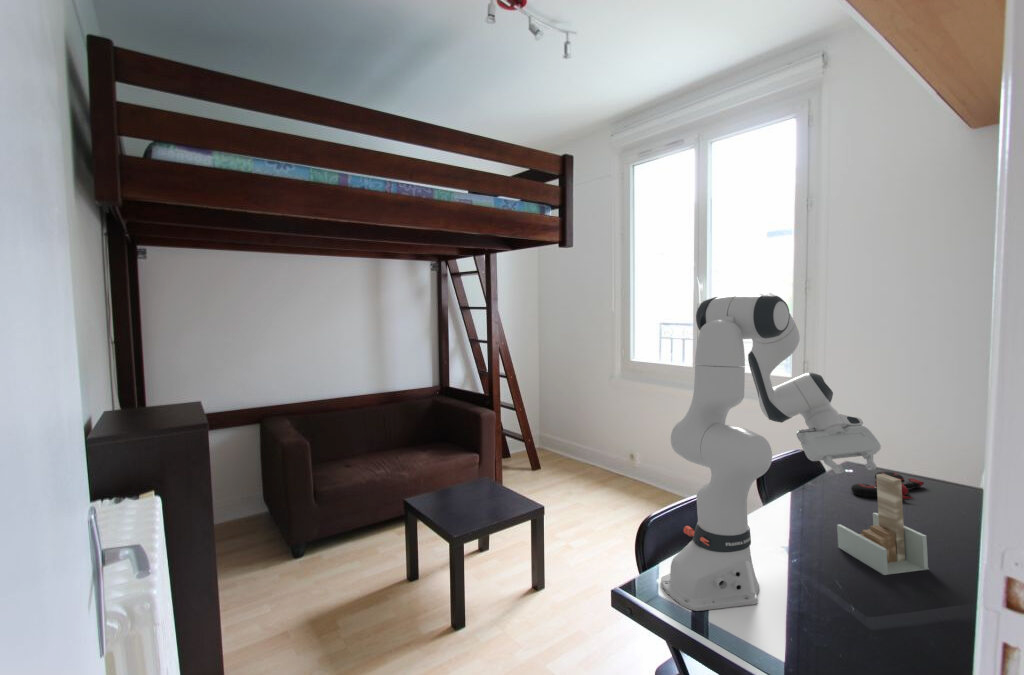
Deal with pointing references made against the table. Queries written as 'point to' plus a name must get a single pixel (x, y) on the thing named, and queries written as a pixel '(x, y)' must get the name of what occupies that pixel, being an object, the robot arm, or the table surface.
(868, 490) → the toy motorcycle
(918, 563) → the offcut rack
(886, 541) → the offcut stack
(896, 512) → the birch board
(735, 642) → the table surface
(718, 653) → the table surface
